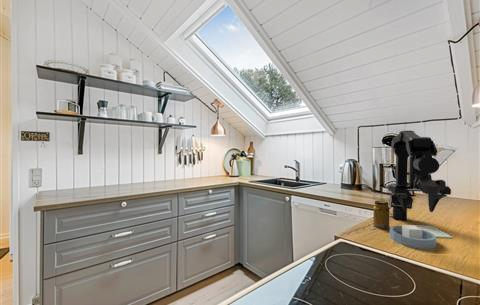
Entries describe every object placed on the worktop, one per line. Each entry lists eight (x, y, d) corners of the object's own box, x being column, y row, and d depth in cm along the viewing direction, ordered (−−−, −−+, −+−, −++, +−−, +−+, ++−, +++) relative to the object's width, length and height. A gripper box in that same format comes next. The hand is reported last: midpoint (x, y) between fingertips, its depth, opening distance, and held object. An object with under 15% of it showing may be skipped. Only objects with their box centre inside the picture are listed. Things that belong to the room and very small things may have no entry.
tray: (406, 227, 102) (406, 225, 101) (430, 228, 100) (430, 225, 100) (424, 238, 90) (424, 235, 90) (452, 239, 88) (452, 236, 88)
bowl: (382, 233, 94) (383, 225, 94) (419, 235, 93) (419, 226, 92) (402, 249, 80) (402, 239, 80) (446, 251, 79) (446, 241, 79)
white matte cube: (401, 236, 89) (402, 225, 89) (414, 236, 88) (414, 225, 88) (408, 241, 85) (409, 229, 84) (422, 241, 84) (422, 229, 84)
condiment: (374, 224, 105) (374, 198, 105) (396, 228, 100) (396, 201, 99) (370, 228, 100) (370, 201, 100) (393, 233, 94) (393, 205, 94)
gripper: (404, 173, 79) (403, 217, 79) (464, 173, 76) (463, 219, 77) (387, 169, 90) (387, 208, 90) (440, 169, 87) (439, 209, 88)
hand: (417, 211), depth 86 cm, fingers open, 9 cm apart
